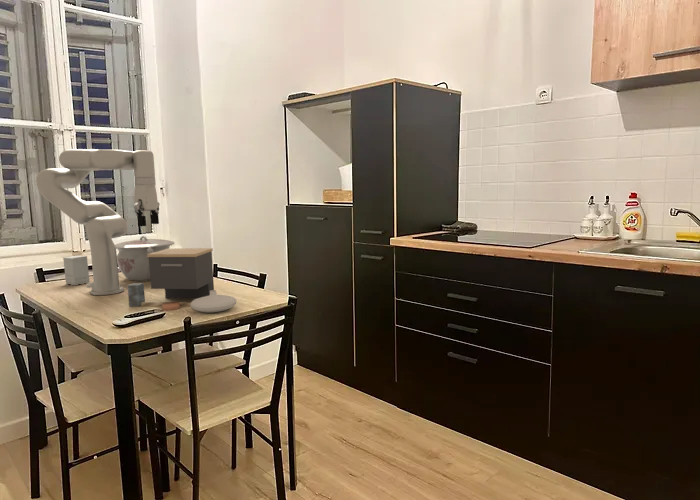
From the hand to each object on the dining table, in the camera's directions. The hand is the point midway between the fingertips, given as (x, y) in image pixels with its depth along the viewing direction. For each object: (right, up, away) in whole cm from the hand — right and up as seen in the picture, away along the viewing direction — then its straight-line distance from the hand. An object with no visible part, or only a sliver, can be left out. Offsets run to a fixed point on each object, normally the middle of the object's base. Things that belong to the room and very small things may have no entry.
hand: (148, 225), depth 201 cm
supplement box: (-44, -26, +29) cm, 59 cm away
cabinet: (+17, -29, -8) cm, 35 cm away
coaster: (+17, -31, -21) cm, 41 cm away
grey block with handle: (+11, -31, -17) cm, 37 cm away
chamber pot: (-16, -24, +38) cm, 48 cm away
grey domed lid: (+33, -32, -25) cm, 52 cm away
